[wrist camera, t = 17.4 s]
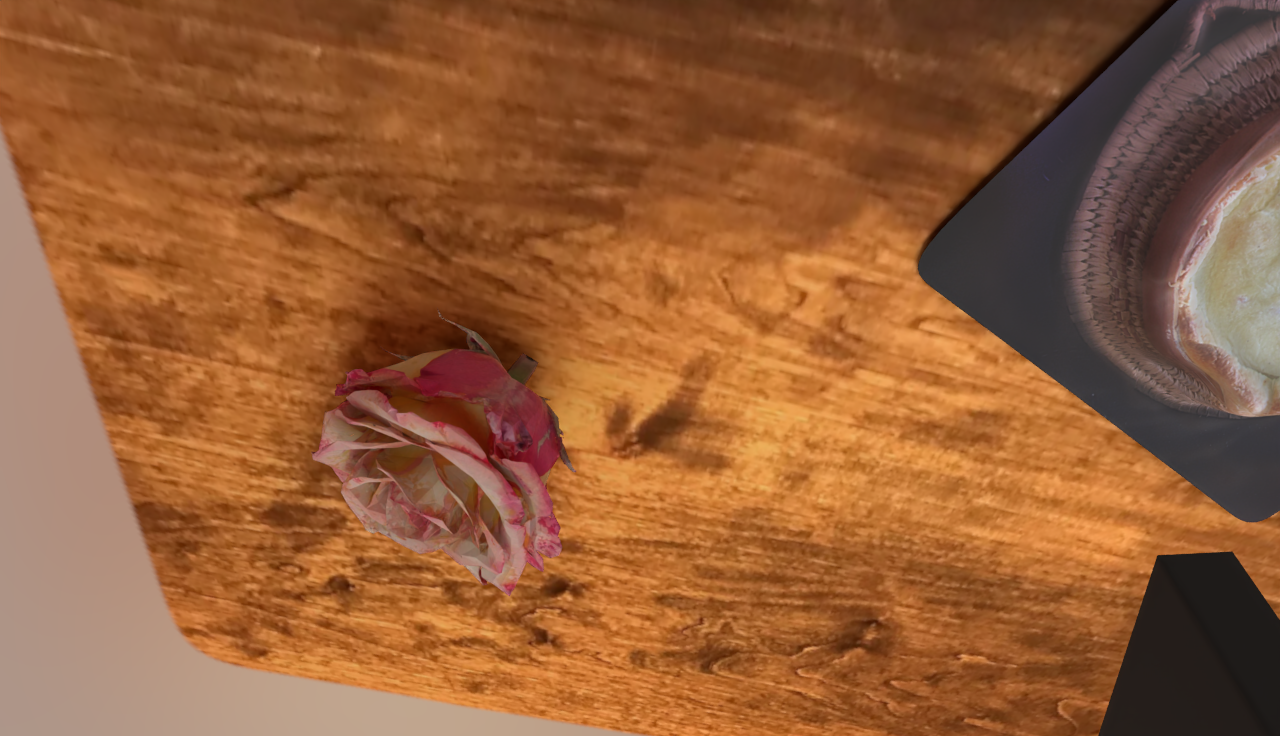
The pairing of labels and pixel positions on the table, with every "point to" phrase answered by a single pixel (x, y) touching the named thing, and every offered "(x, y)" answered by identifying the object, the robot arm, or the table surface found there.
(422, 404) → the flower
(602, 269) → the table surface
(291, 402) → the table surface
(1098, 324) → the dark printed mat
